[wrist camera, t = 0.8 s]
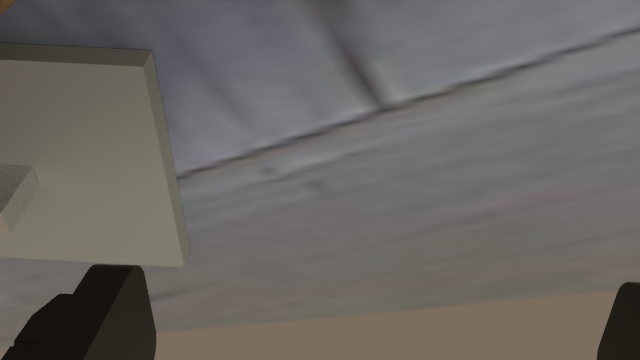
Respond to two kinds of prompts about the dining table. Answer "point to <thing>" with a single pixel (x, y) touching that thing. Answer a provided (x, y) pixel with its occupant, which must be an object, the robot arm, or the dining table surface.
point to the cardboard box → (5, 5)
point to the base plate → (90, 156)
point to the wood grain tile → (15, 193)
